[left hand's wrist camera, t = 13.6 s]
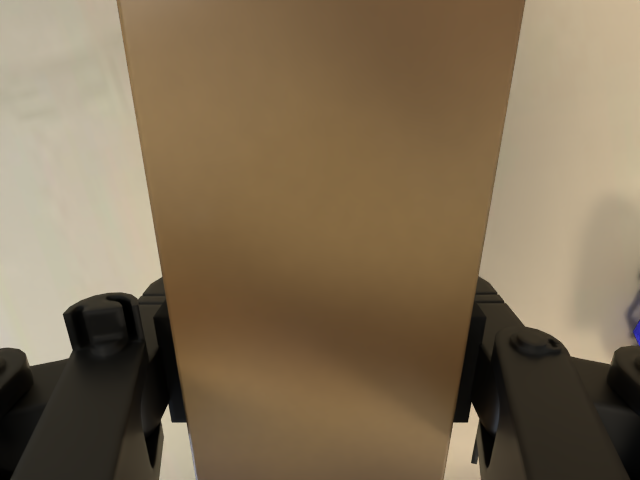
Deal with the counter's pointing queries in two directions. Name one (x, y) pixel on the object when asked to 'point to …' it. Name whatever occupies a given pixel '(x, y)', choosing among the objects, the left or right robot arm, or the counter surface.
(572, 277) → the counter surface
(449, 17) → the bar
